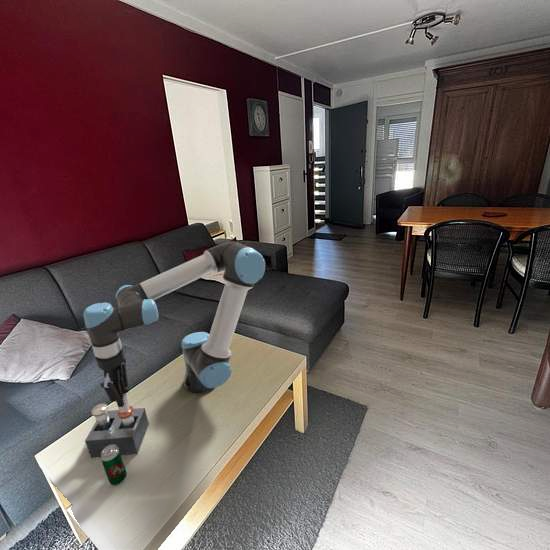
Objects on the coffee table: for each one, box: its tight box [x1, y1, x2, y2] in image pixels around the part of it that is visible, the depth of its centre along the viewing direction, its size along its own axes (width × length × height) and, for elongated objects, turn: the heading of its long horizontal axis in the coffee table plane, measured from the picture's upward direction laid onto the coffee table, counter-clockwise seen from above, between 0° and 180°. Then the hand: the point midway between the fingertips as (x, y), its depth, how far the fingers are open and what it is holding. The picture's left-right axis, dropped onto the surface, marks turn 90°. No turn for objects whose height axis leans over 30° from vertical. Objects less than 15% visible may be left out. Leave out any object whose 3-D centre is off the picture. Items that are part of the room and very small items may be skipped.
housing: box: [84, 407, 150, 459], centre depth 104 cm, size 15×12×8 cm
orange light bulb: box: [118, 405, 135, 429], centre depth 103 cm, size 5×5×8 cm
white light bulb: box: [90, 403, 111, 431], centre depth 101 cm, size 5×5×8 cm
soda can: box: [99, 444, 128, 486], centre depth 91 cm, size 5×5×12 cm
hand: (124, 410), depth 101 cm, fingers closed
